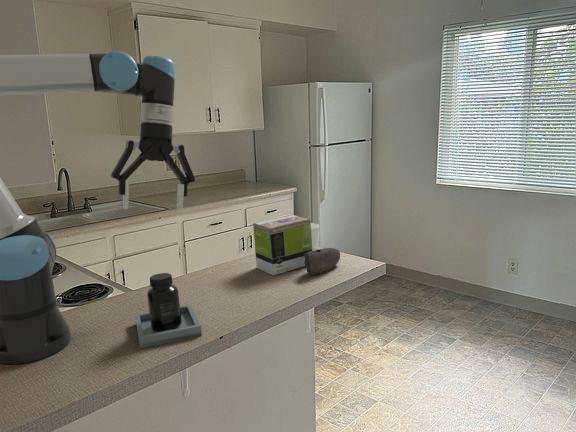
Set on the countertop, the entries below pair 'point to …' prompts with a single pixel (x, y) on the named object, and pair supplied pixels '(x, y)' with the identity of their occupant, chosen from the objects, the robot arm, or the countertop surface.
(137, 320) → the tray
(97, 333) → the countertop surface
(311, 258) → the perforated stone tool
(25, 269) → the robot arm
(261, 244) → the tea box
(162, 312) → the supplement bottle
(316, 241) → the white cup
